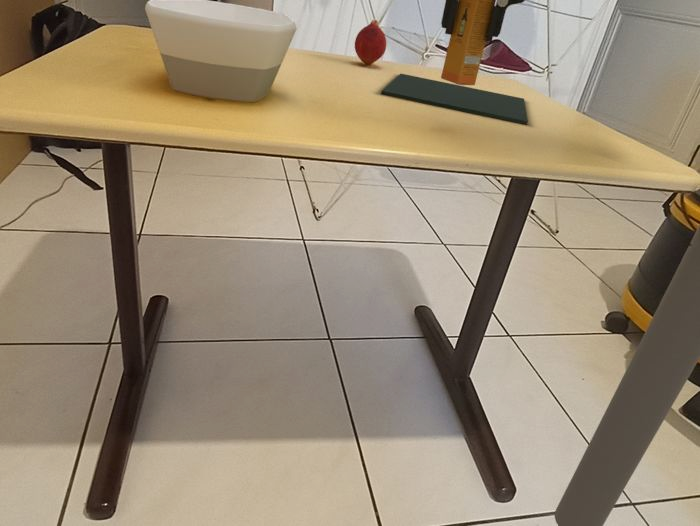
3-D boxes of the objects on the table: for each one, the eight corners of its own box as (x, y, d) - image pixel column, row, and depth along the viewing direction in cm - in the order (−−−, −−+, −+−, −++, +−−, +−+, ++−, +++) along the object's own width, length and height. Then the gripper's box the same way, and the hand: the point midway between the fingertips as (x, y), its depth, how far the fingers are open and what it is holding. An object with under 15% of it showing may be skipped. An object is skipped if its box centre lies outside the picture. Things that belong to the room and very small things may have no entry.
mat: (523, 101, 97) (524, 98, 97) (527, 124, 81) (528, 121, 81) (400, 76, 100) (400, 73, 100) (380, 94, 84) (381, 90, 84)
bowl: (127, 93, 64) (124, 4, 59) (169, 65, 79) (169, -7, 75) (283, 116, 65) (291, 31, 61) (294, 84, 81) (301, 14, 76)
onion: (380, 70, 102) (388, 23, 98) (349, 64, 102) (356, 17, 98) (384, 66, 107) (392, 21, 103) (354, 60, 107) (361, 15, 103)
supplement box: (477, 85, 68) (499, -4, 63) (457, 85, 66) (477, -7, 62) (459, 79, 71) (479, -8, 66) (439, 78, 69) (457, -11, 64)
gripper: (574, -123, 60) (527, 44, 68) (443, -141, 62) (413, 24, 70) (582, -136, 54) (530, 51, 62) (436, -155, 56) (404, 29, 64)
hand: (468, 36), depth 66 cm, fingers closed on supplement box, 4 cm apart
